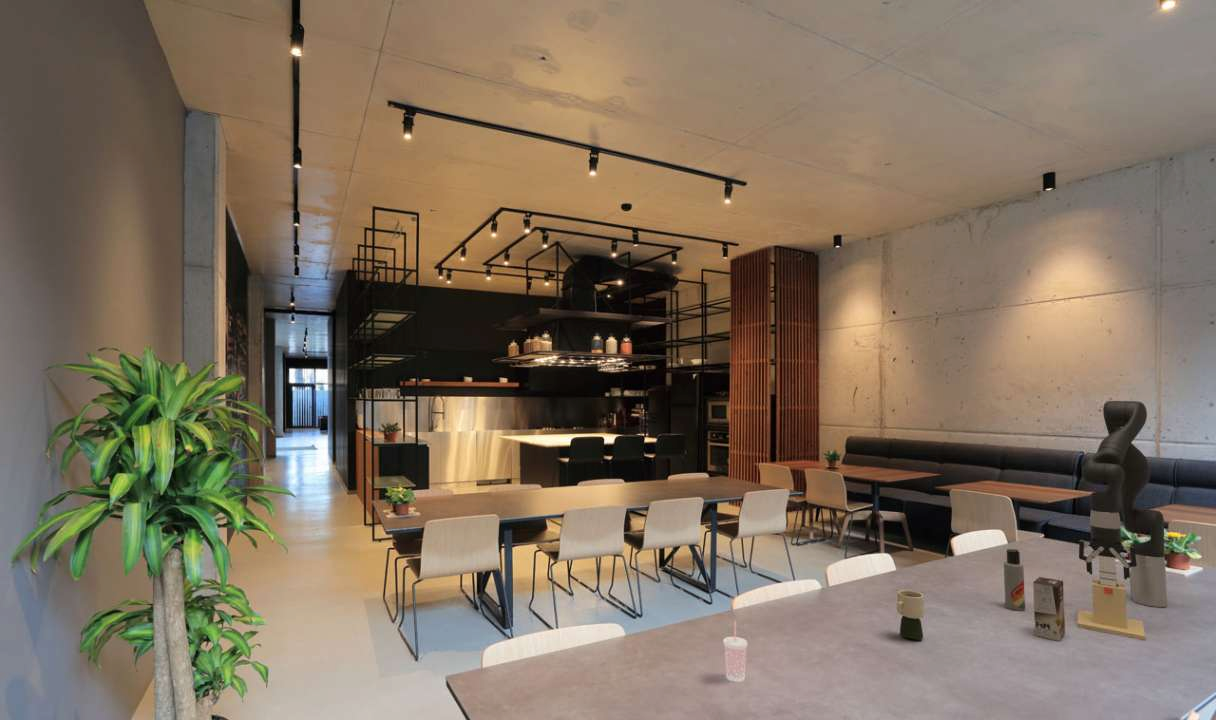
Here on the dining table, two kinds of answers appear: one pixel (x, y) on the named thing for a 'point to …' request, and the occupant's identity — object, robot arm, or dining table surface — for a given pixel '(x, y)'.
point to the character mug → (910, 613)
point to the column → (1107, 571)
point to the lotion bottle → (1014, 581)
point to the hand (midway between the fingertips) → (1107, 576)
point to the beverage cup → (735, 657)
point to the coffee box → (1049, 608)
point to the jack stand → (1110, 612)
